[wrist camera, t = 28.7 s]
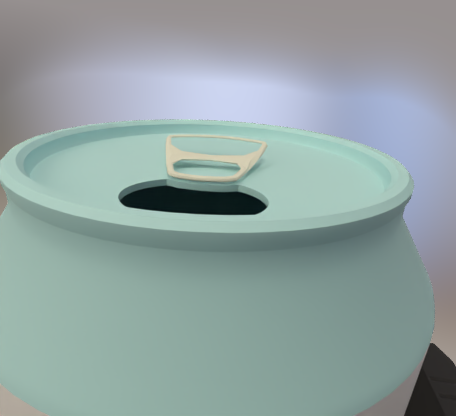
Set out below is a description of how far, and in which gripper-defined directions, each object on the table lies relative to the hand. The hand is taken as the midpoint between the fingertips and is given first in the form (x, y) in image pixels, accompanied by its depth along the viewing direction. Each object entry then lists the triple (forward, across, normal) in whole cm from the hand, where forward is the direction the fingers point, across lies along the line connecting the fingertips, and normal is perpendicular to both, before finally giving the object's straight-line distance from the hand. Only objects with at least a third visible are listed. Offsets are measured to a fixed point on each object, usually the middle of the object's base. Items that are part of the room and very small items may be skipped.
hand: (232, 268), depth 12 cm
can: (-5, 0, -7) cm, 8 cm away
